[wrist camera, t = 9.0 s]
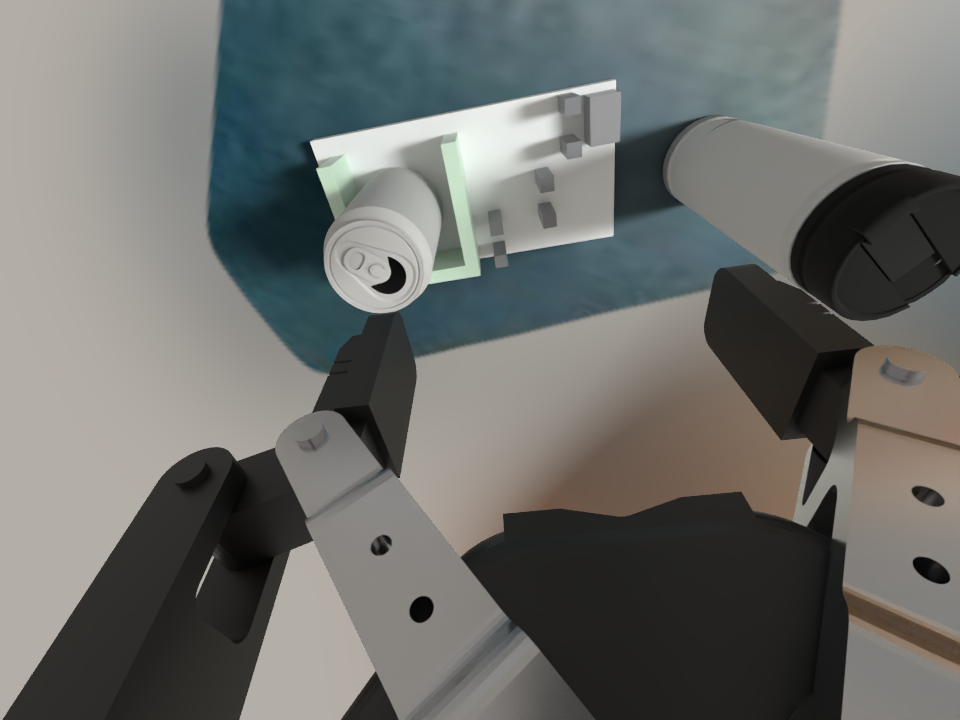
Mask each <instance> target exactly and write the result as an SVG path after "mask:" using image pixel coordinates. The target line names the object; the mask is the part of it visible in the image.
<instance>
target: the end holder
mask: <svg viewBox="0 0 960 720" xmlns="http://www.w3.org/2000/svg"><path fill="white" fill-rule="evenodd" d="M440 145H441V149H442V154H443V159H444V164H445V169H446V174H447V179H448V183H449V188H450V193H451V198H452V203H453V208H454V213H455V217H456V222H457V227H458V232H459V237H460V242H461V247H460V248H454V249H448V250H442V251H437V252H436V255H435V260H434V265H433V269H432V274H431V278H430V281H429V283H428V284H432V283H438V282H445V281H451V280H457V279H463V278H469V277H475V276H481V275H480V253H479V247H478V242H477V236H476V231H475V225H474V220H473V214H472V209H471V203H470V198H469V192H468V187H467V181H466V176H465V170H464V165H463V159H462V153H461V148H460V142H459V137H458V132H456V133H451V134H446V135H444V136H443V139H442V142H441V144H440ZM316 170H317V173H318V175H319V178H320V181H321V183H322V186H323V189H324V191H325V194H326V197H327V199H328V202H329V205H330V207H331V210H332V213H333V215H334V218H335V220H336V219H337V218H338V216H339V215H340V214H341V213H342V212H343V211H344V209H345V208H346V207H347V206H348V205H349V204H350V202H351V201H352V200H353V199H354V198H355V197H356V195H357V194H358V191H357V188H356V185H355V182H354V179H353V176H352V173H351V170H350V167H349V164H348V161H347V158H346V155H345V154H344V155H339V156H334V157H332V158H330V159H329V160H327V161H326V162H325V163H323V164H322V165H321V166H319V167H318V168H316Z"/></svg>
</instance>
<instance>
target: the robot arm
mask: <svg viewBox="0 0 960 720" xmlns="http://www.w3.org/2000/svg"><path fill="white" fill-rule="evenodd" d="M704 333H705V338H706V341H707V343H708V345H709V346H710V348H711V349H712V350H713V352H714V353H715V355H716V356H717V357H718V359H719V360H720V361H721V362H722V364H723V365H724V366H725V367H726V369H727V370H728V372H729V373H730V374H731V375H732V377H733V378H734V379H735V381H736V382H737V383H738V385H739V386H740V387H741V389H742V390H743V391H744V392H745V394H746V395H747V396H748V398H749V399H750V400H751V402H752V403H753V404H754V405H755V407H756V408H757V409H758V411H759V412H760V413H761V415H762V416H763V417H764V418H765V420H766V421H767V422H768V424H769V425H770V426H771V427H772V429H773V430H774V432H775V433H776V434H777V435H778V437H779V438H780V439H781V440H788V439H798V438H808V439H809V441H810V442H811V445H810V447H809V449H808V451H807V454H806V458H805V463H804V468H803V474H802V478H801V483H800V489H799V494H798V499H797V504H796V509H795V514H794V518H793V521H791V520H788V519H785V518H781V517H778V516H775V515H771V514H767V513H762V512H758V511H752V509H751V507H750V506H749V504H748V502H747V501H746V499H745V497H744V496H743V494H742V492H732V493H721V494H711V495H700V496H690V497H681V498H678V499H675V500H672V501H669V502H666V503H663V504H661V505H658V506H655V507H652V508H649V509H647V510H644V511H641V512H638V513H635V514H632V515H630V516H625V517H616V516H609V515H602V514H595V513H588V512H580V511H573V510H566V509H551V510H540V511H530V512H520V513H508V514H503V519H504V532H501V533H499V534H496V535H494V536H492V537H490V538H488V539H486V540H484V541H482V542H480V543H479V544H477V545H476V546H474V547H473V548H471V549H470V550H469V551H467V552H466V553H465V554H464V555H463V556H461V557H459V556H458V554H457V553H456V552H455V551H454V549H453V548H452V546H451V545H450V544H449V543H448V541H447V540H446V539H445V538H444V536H443V535H442V534H441V532H440V531H439V530H438V529H437V527H436V526H435V525H434V524H433V522H432V521H431V520H430V519H429V517H428V516H427V515H426V514H425V512H424V511H423V510H422V509H421V507H420V506H419V505H418V503H417V502H416V501H415V500H414V498H413V497H412V496H411V494H410V493H409V492H408V491H407V489H406V488H405V487H404V486H403V484H402V483H401V482H400V480H399V479H398V478H400V473H401V468H402V462H403V456H404V450H405V444H406V438H407V432H408V427H409V421H410V415H411V409H412V403H413V396H414V391H415V385H416V364H415V359H414V356H413V352H412V349H411V346H410V343H409V339H408V336H407V333H406V330H405V326H404V323H403V320H402V317H401V315H400V313H399V312H398V311H396V312H388V313H381V314H374V315H369V317H368V319H367V322H366V324H365V327H364V329H363V332H362V335H357V336H352V337H351V338H350V339H349V340H348V341H347V342H346V343H345V344H344V345H343V346H342V347H341V348H340V350H339V352H338V354H337V357H336V359H335V361H334V363H335V364H334V365H333V366H332V368H331V370H330V373H329V374H330V376H328V377H327V380H326V382H325V384H324V387H323V389H322V391H321V394H320V396H319V398H318V400H317V403H316V405H315V407H314V410H313V412H312V413H310V414H308V415H305V416H303V417H301V418H300V419H298V420H296V421H294V422H293V423H292V424H290V425H289V426H288V427H287V428H286V429H285V430H284V431H283V432H282V434H281V435H280V436H279V438H278V440H277V442H276V446H275V448H273V449H270V450H267V451H265V452H262V453H259V454H256V455H253V456H251V457H248V458H245V459H242V460H239V461H236V460H235V458H234V457H233V456H232V454H231V453H230V452H229V451H228V450H226V449H224V448H219V447H214V448H207V449H203V450H200V451H197V452H195V453H193V454H190V455H188V456H187V457H185V458H183V459H182V460H180V461H179V462H177V463H176V464H175V465H173V466H172V467H171V468H170V469H169V470H168V471H166V473H165V474H164V475H163V476H162V477H161V478H160V480H159V481H158V483H157V484H156V486H155V487H154V489H153V490H152V492H151V493H150V495H149V497H148V498H147V499H146V501H145V502H144V504H143V506H142V507H141V509H140V510H139V512H138V513H137V515H136V516H135V518H134V519H133V521H132V523H131V524H130V526H129V527H128V529H127V530H126V532H125V533H124V535H123V536H122V538H121V539H120V541H119V542H118V544H117V545H116V547H115V548H114V550H113V551H112V553H111V554H110V556H109V558H108V559H107V561H106V562H105V564H104V565H103V567H102V568H101V570H100V571H99V573H98V574H97V576H96V577H95V579H94V581H93V582H92V584H91V585H90V587H89V588H88V590H87V591H86V593H85V594H84V596H83V597H82V599H81V600H80V602H79V603H78V605H77V606H76V608H75V610H74V611H73V613H72V614H71V616H70V617H69V619H68V620H67V622H66V624H65V625H64V627H63V628H62V630H61V631H60V633H59V634H58V636H57V637H56V639H55V640H54V642H53V643H52V645H51V646H50V648H49V649H48V651H47V652H46V654H45V656H44V657H43V659H42V660H41V662H40V663H39V665H38V666H37V668H36V669H35V671H34V672H33V674H32V675H31V677H30V678H29V680H28V681H27V683H26V685H25V686H24V688H23V689H22V691H21V692H20V694H19V695H18V697H17V698H16V700H15V701H14V703H13V705H12V706H11V707H10V709H9V711H8V712H7V714H6V715H5V717H4V718H3V720H239V718H240V715H241V712H242V709H243V705H244V702H245V699H246V695H247V692H248V689H249V685H250V682H251V679H252V675H253V672H254V669H255V665H256V662H257V659H258V656H259V652H260V649H261V646H262V642H263V639H264V636H265V633H266V629H267V626H268V623H269V619H270V616H271V612H272V609H273V606H274V603H275V599H276V596H277V593H278V589H279V586H280V583H281V580H282V576H283V573H284V570H285V566H286V563H287V560H288V556H289V553H290V550H292V549H294V548H297V547H299V546H302V545H304V544H306V543H309V542H311V541H314V543H315V545H316V547H317V549H318V551H319V553H320V555H321V558H322V559H323V561H324V564H325V566H326V568H327V570H328V572H329V574H330V576H331V578H332V580H333V583H334V585H335V587H336V589H337V591H338V593H339V595H340V597H341V599H342V601H343V603H344V605H345V608H346V610H347V612H348V614H349V616H350V618H351V620H352V622H353V624H354V626H355V628H356V630H357V633H358V635H359V637H360V639H361V641H362V643H363V645H364V647H365V649H366V652H367V654H368V655H369V658H370V660H371V662H372V664H373V666H374V668H375V670H376V671H375V673H374V674H373V676H372V677H371V678H370V680H369V681H368V683H367V684H366V685H365V687H364V688H363V690H362V691H361V693H360V694H359V695H358V697H357V698H356V699H355V701H354V702H353V704H352V705H351V706H350V708H349V709H348V711H347V712H346V713H345V715H344V716H343V718H342V719H341V720H960V376H959V375H958V374H957V372H956V371H955V370H954V369H953V368H952V367H951V366H949V365H948V364H947V363H945V362H943V361H942V360H940V359H938V358H936V357H934V356H932V355H929V354H926V353H924V352H921V351H917V350H914V349H910V348H905V347H899V346H890V345H878V346H874V345H873V344H872V343H870V342H869V341H868V340H867V339H865V338H864V337H862V336H861V335H860V334H858V333H857V332H856V331H855V330H853V329H852V328H851V327H849V326H848V325H847V324H846V323H844V322H843V321H841V320H840V319H839V318H838V317H836V316H835V315H834V314H831V315H830V312H829V311H828V310H827V309H826V308H825V307H823V306H822V305H821V304H817V302H816V301H815V300H814V299H813V298H811V297H810V296H809V295H808V294H806V293H805V292H803V291H802V290H801V289H798V288H796V287H793V286H791V285H788V284H786V283H783V282H781V281H777V280H775V279H774V278H773V277H772V276H770V275H769V274H768V273H767V272H765V271H764V270H763V269H762V268H760V267H759V266H758V265H756V264H748V265H741V266H733V267H726V268H720V269H719V270H718V271H717V272H716V274H715V276H714V279H713V284H712V289H711V294H710V298H709V304H708V308H707V313H706V318H705V323H704ZM212 555H213V556H214V559H213V562H212V564H211V566H210V568H209V570H208V573H207V575H206V577H205V580H204V582H203V584H202V586H201V588H200V591H199V593H198V595H197V597H196V592H197V589H198V586H199V583H200V581H201V579H202V577H203V575H204V572H205V570H206V568H207V566H208V563H209V561H210V559H211V557H212Z"/></svg>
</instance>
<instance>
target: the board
mask: <svg viewBox="0 0 960 720" xmlns="http://www.w3.org/2000/svg"><path fill="white" fill-rule="evenodd" d="M620 115H621V91H619V90H616V80H615V79H608V80H603V81H598V82H593V83H588V84H584V85H579V86H574V87H569V88H564V89H559V90H554V91H549V92H544V93H539V94H534V95H529V96H524V97H519V98H514V99H509V100H504V101H500V102H495V103H490V104H485V105H480V106H475V107H470V108H465V109H460V110H455V111H450V112H445V113H440V114H435V115H430V116H425V117H420V118H416V119H411V120H406V121H401V122H396V123H391V124H386V125H381V126H376V127H371V128H366V129H361V130H356V131H351V132H346V133H341V134H336V135H332V136H327V137H322V138H317V139H314V140H312V141H310V144H311V147H312V149H313V152H314V155H315V157H316V160H317V163H318V165H319V166H321V165H322V164H323V163H325V162H326V161H327V160H329V159H330V158H332V157H334V156H339V155H344V154H345V155H346V158H347V161H348V164H349V167H350V170H351V173H352V176H353V179H354V182H355V185H356V188H357V191H358V193H359V192H360V191H361V190H362V188H363V187H364V186H365V185H366V184H367V183H368V181H369V180H370V179H371V178H372V177H373V176H374V175H376V174H377V173H379V172H381V171H383V170H386V169H389V168H406V169H410V170H413V171H415V172H417V173H419V174H421V175H423V176H424V177H425V178H426V179H428V180H429V181H430V182H431V183H432V185H433V186H434V187H435V189H436V190H437V192H438V194H439V196H440V199H441V202H442V207H443V221H442V226H441V231H440V235H439V240H438V245H437V250H436V252H437V251H442V250H448V249H454V248H460V247H461V242H460V237H459V232H458V227H457V222H456V217H455V213H454V208H453V203H452V198H451V193H450V188H449V183H448V179H447V174H446V169H445V164H444V159H443V154H442V149H441V145H440V144H441V142H442V139H443V136H444V135H446V134H451V133H456V132H458V137H459V142H460V148H461V153H462V159H463V165H464V170H465V176H466V181H467V187H468V192H469V198H470V203H471V209H472V214H473V220H474V225H475V231H476V236H477V242H478V247H479V253H480V258H485V257H491V256H494V259H495V265H496V268H500V267H506V266H508V260H507V254H509V253H515V252H521V251H527V250H533V249H539V248H545V247H551V246H557V245H563V244H569V243H575V242H580V241H586V240H592V239H598V238H604V237H610V236H613V231H614V169H615V143H616V142H620Z"/></svg>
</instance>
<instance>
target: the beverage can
mask: <svg viewBox="0 0 960 720" xmlns="http://www.w3.org/2000/svg"><path fill="white" fill-rule="evenodd" d="M442 221H443V207H442V202H441V199H440V196H439V194H438V192H437V190H436V189H435V187H434V186H433V185H432V183H431V182H430V181H429V180H428V179H426V178H425V177H424V176H423V175H421V174H419V173H417V172H415V171H413V170H410V169H406V168H389V169H386V170H383V171H381V172H379V173H377V174H376V175H374V176H373V177H372V178H371V179H370V180H369V181H368V183H367V184H366V185H365V186H364V187H363V188H362V190H361V191H360V192H359V193H358V194H357V195H356V197H355V198H354V199H353V200H352V201H351V202H350V204H349V205H348V206H347V207H346V208H345V209H344V211H343V212H342V213H341V214H340V215H339V216H338V218H337V219H336V220H335V221H334V222H333V224H332V225H331V226H330V228H329V230H328V232H327V234H326V237H325V241H324V267H325V272H326V275H327V278H328V280H329V282H330V284H331V285H332V287H333V288H334V290H335V291H336V292H337V293H338V294H339V295H340V296H341V297H342V298H343V299H344V300H345V301H347V302H348V303H350V304H351V305H353V306H355V307H357V308H359V309H361V310H364V311H368V312H373V313H388V312H394V311H397V310H399V309H402V308H404V307H406V306H407V305H409V304H410V303H411V302H412V301H413V300H415V299H416V298H417V297H418V296H420V295H421V293H422V292H423V291H424V290H425V288H426V287H427V285H428V283H429V281H430V278H431V274H432V269H433V265H434V260H435V255H436V250H437V245H438V240H439V235H440V231H441V226H442Z"/></svg>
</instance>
